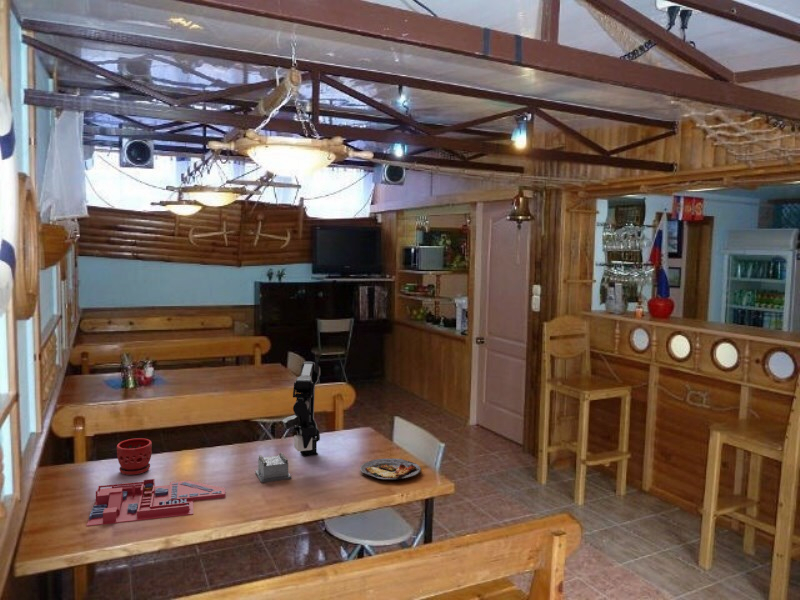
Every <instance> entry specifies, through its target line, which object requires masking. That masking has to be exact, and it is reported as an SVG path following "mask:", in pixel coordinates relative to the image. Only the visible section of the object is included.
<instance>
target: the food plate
mask: <svg viewBox="0 0 800 600" xmlns="http://www.w3.org/2000/svg"><path fill="white" fill-rule="evenodd" d="M359 469H360V472H361V474H362V473H363V474H365V475H368V476H371V477H374V478H376V479H380V480H386V481H391V480H392V481H396V480H397V481H398V480H405V479H407V478H411V477H414V476H417V475H419V474H420V472H421V471H422V468H421V466H420V465H419V464H417V463H416V462H412V461H409V460H407V459H402V458H386V457H385V458H377V459H372V460H369V461H366V462H364V463H362V464H361V466H360V467H359Z"/></svg>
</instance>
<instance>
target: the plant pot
mask: <svg viewBox="0 0 800 600" xmlns="http://www.w3.org/2000/svg"><path fill="white" fill-rule="evenodd" d="M129 446H131V447H129ZM135 447H136V448H135ZM152 447H153V445H152V440H150V439H148V438H142V437H140V438H139V437H138V438H130V439H125V440H122V441H119V443H118V444H117V445H116V457H117V460H118V464H119V465H120V466H119V468H118V469H119V472H120V473H122V474H123V475H128V476H134V475H135V476H136V475H141V474H143V473H145V472H148V471H149V469H150V468H151V463H150V461H151V458H152V453H153V451H152Z"/></svg>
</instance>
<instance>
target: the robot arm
mask: <svg viewBox="0 0 800 600" xmlns="http://www.w3.org/2000/svg"><path fill="white" fill-rule="evenodd" d="M320 376H321V367H320V365H318V364H316V363H315V362H314V361H304V362H303V363H302V365H300V375H299V376H297V377H296V379H295V381H294V382H293V391H292V398H296V401H295V402H294V404H293V407H292V410H293V413H294V414H293V415H290V416H288V417H285V418H283V419H282V421H281V422H282V424H283V427H284V428H285V429H286V430H290V429H291V428H293V429H294V430H295V431H296V435H301V436H302V439H303V446H304V448H307V446H308V444H309V442H310V440H311V438H312V450H306V451H299V453H301V454H302V456H303V457H308V456H309V457H310V456H317V455H318V452H317V450H318V449H317V442H319V441H320V440H321V433H320V430H319V427H318V424H317V422H316V419H315V396H316V393H315V392H316V386H317V383H318V381H319V378H320Z"/></svg>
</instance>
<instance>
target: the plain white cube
mask: <svg viewBox="0 0 800 600" xmlns="http://www.w3.org/2000/svg"><path fill="white" fill-rule="evenodd" d="M293 439H294V440H293V444H294V445H293V448H294V449H295V450H296V451H297V452H300V451H306V450H312V438H311V440H310V442H309V444H308V446H307V448H304V446H303V439H302V436H301V435H298V434H295V435H293Z"/></svg>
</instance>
